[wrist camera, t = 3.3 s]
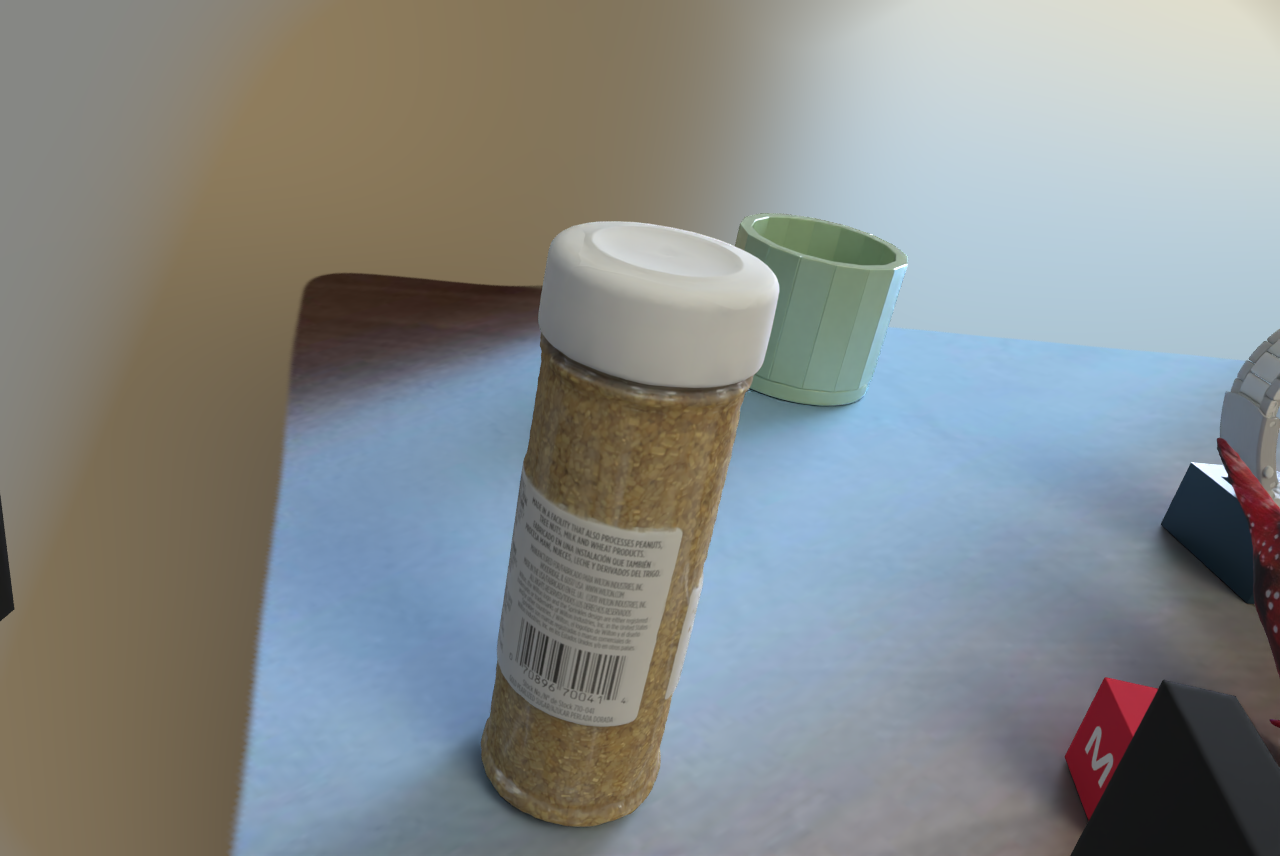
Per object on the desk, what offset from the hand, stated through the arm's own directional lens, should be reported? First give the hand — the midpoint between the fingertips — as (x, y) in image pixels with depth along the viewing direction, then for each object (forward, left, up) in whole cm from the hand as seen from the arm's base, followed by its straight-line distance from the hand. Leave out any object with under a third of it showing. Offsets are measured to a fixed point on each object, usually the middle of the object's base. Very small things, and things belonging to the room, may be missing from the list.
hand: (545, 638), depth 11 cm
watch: (+8, +38, -12) cm, 40 cm away
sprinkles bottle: (-5, +9, -12) cm, 15 cm away
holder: (-14, +38, -12) cm, 42 cm away
